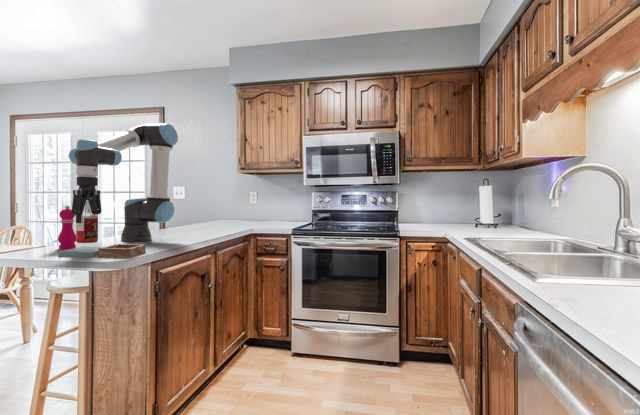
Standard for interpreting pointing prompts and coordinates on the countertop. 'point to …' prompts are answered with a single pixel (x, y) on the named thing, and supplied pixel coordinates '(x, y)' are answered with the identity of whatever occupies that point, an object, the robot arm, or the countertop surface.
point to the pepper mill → (67, 230)
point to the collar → (121, 250)
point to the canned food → (88, 230)
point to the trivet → (81, 252)
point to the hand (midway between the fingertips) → (87, 229)
